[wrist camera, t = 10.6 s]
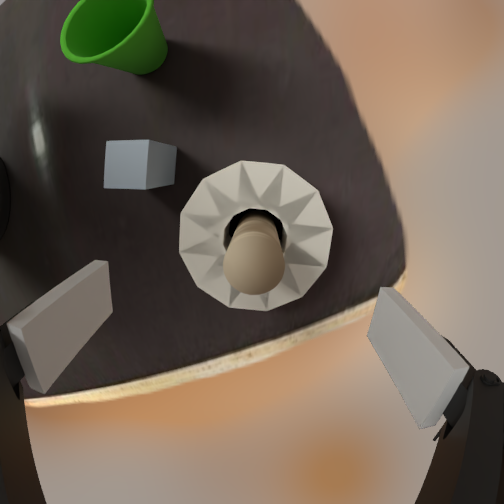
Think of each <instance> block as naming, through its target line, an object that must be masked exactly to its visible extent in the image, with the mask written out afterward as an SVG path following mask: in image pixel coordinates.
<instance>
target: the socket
mask: <svg viewBox="0 0 504 504" xmlns="http://www.w3.org/2000/svg"><path fill="white" fill-rule="evenodd" d="M249 208H252V209H262V210H267V211H269V212H270V213H272V214H273V215H274V216H276V217H277V218H279V219H280V220H281V222H282V224H283V229H282V237H281V240H280V245H281V249H282V253H283V256H284V261H285V271H284V275H283V277H282V279H281V281H280V282H279V284H278V285H277V286H276V287H275V288H274V289H272V290H271V291H269V292H267V293H264V294H260V295H249V294H244V293H242V292H240V291H238V290H236V289H235V288H233V287H232V286H231V285H230V283H229V282H228V281H227V279H226V277H225V274H224V270H223V260H224V256H225V254H226V251H227V249H228V247H229V244H230V242H231V240H232V238H231V236H230V234H229V228H230V220H231V219H232V217H233V216H234V215H236V214H238V213H240V212H242V211H244V210H247V209H249ZM332 232H333V227H332V224H331V222H330V219H329V216H328V214H327V211H326V209H325V206H324V204H323V201H322V199H321V196H320V194H319V192H318V190H317V189H316V188H314V187H313V186H312V185H310V184H309V183H308V182H306V181H305V180H304V179H302V178H301V177H300V176H298V175H297V174H296V173H294V172H293V171H292V170H290V169H289V168H288V167H286V166H285V165H280V164H271V163H261V162H251V161H239V162H237V163H235V164H233V165H231V166H229V167H227V168H224V169H222V170H220V171H218V172H216V173H214V174H212V175H210V176H208V177H206V178H204V179H203V180H202V181H201V183H200V184H199V186H198V187H197V189H196V190H195V192H194V193H193V195H192V196H191V198H190V199H189V201H188V202H187V204H186V205H185V207H184V209H183V210H182V212H181V215H180V239H179V253H180V255H181V257H182V259H183V261H184V263H185V265H186V267H187V268H188V270H189V272H190V274H191V276H192V278H193V280H194V282H195V283H196V285H197V287H199V288H200V289H202V290H203V291H205V292H206V293H208V294H209V295H211V296H212V297H214V298H215V299H217V300H218V301H220V302H221V303H223V304H225V305H226V306H228V307H230V308H239V309H249V310H260V311H269V310H271V309H274V308H276V307H279V306H281V305H284V304H286V303H289V302H291V301H293V300H296V299H298V298H301V297H303V295H304V294H305V293H306V292H307V291H308V289H309V288H310V287H311V286H312V285H313V283H314V282H315V281H316V280H317V279H318V277H319V276H320V275H321V274H322V272H323V271H324V270H325V269H326V267H327V263H328V257H329V251H330V245H331V239H332Z"/></svg>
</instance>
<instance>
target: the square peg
mask: <svg viewBox="0 0 504 504" xmlns="http://www.w3.org/2000/svg"><path fill="white" fill-rule="evenodd" d="M176 153H177V147H176V146H172V145H168V144H164V143H160V142H156V141H152V140H120V141H107V142H106V154H105V170H104V188H117V189H145V190H146V189H151V188H156V187H162V186H167V185H173V184H174V179H175V165H176Z"/></svg>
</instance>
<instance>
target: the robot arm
mask: <svg viewBox="0 0 504 504" xmlns="http://www.w3.org/2000/svg"><path fill="white" fill-rule="evenodd" d="M9 210H10V190H9V182H8V177H7V173H6V170H5V167H4V165H3V162H2V161H1V159H0V239H1V237H2V236H3V234H4V232H5V229H6V227H7V223H8V218H9ZM112 312H113V309H112V300H111V291H110V280H109V266H108V261H101V260H94V261H93V262H91V263H90V264H88V265H87V266H85V267H84V268H82V269H81V270H79V271H78V272H76V273H75V274H73V275H72V276H70V277H69V278H67V279H66V280H64V281H63V282H62V283H60V284H59V285H57V286H56V287H54V288H53V289H52V290H50V291H49V292H47V293H46V294H45V295H43V296H42V297H40V298H39V299H38V300H36V301H34V302H32V303H30V304H29V305H28V306H26V307H25V309H22V310H21V311H20V312H19V313H17V314H16V315H14V316H13V317H12V318H10V319H9V320H8V321H7V322H5V323H4V324H3V325H1V326H0V504H46V501H45V498H44V495H43V491H42V489H41V485H40V481H39V478H38V474H37V470H36V466H35V463H34V458H33V454H32V449H31V444H30V439H29V433H28V427H27V420H26V413H25V405H24V395H23V387H22V384H21V382H20V380H21V379H22V378H23V377H24V375H25V377H26V380H27V382H28V384H29V387H30V388H32V389H34V390H36V391H39V392H41V393H43V394H45V393H46V391H47V390H48V389H49V388H50V386H51V385H52V384H53V382H54V381H55V380H56V379H57V377H58V376H59V375H60V374H61V372H62V371H63V370H64V369H65V368H66V366H67V365H68V364H69V363H70V361H71V360H72V359H73V358H74V357H75V355H76V354H77V353H78V352H79V351H80V349H81V348H82V347H83V346H84V345H85V343H86V342H87V341H88V340H89V339H90V338H91V336H92V335H93V334H94V333H95V332H96V331H97V329H98V328H99V327H100V326H101V325H102V324H103V323H104V321H105V320H106V319H107V318H108V317H109V316H110V315H111V314H112ZM367 337H368V338H369V340H370V342H371V344H372V345H373V347H374V348H375V350H376V352H377V354H378V355H379V357H380V359H381V361H382V362H383V364H384V366H385V368H386V369H387V371H388V373H389V375H390V376H391V378H392V380H393V382H394V383H395V385H396V387H397V389H398V390H399V392H400V394H401V396H402V398H403V400H404V401H405V403H406V405H407V407H408V409H409V410H410V412H411V414H412V416H413V418H414V420H415V422H416V423H417V426H418V427H419V429H422V428H427V427H431V426H435V425H436V423H437V422H438V420H439V419H440V417H441V416H442V414H444V416H445V418H446V419H447V420H446V422H445V423H444V425H443V426H442V428H441V429H440V430H439V432H438V433H437V435H436V436H435V437H434V439H433V440H434V441H436V439H437V438H438V437H439V440H438V443H437V447H436V450H435V453H434V456H433V459H432V462H431V465H430V467H429V470H428V473H427V475H426V478H425V481H424V483H423V486H422V488H421V491H420V493H419V495H418V498H417V500H416V502H415V504H504V383H502V382H501V380H500V378H499V377H498V376H497V375H496V374H494V373H493V372H490V371H489V370H484V369H482V370H477V371H476V369H474V367H473V366H472V365H471V364H470V363H469V362H468V361H467V360H466V359H465V357H464V356H463V355H462V354H460V352H459V351H458V350H457V349H456V348H455V347H454V346H453V344H452V343H451V342H450V341H449V340H448V339H446V338H444V337H443V336H441V335H440V334H439V333H438V332H437V331H436V330H435V329H434V328H433V327H432V326H431V324H430V323H429V322H428V321H427V320H426V319H424V317H423V316H422V315H421V314H420V313H419V312H418V311H417V310H416V309H415V308H414V307H413V306H412V305H411V304H410V303H409V302H408V301H407V300H406V299H405V298H404V297H403V296H402V295H401V294H400V293H399V292H397V291H396V290H395V289H394V288H388V287H380V291H379V295H378V299H377V303H376V306H375V310H374V313H373V317H372V320H371V324H370V327H369V331H368V334H367Z"/></svg>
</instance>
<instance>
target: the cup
mask: <svg viewBox="0 0 504 504" xmlns="http://www.w3.org/2000/svg"><path fill="white" fill-rule="evenodd" d="M153 5H154V0H80V1H79V2H78V3H77V5H76V6H75V7H74V8H73V10H72V11H71V12H70V14H69V15H68V17H67V19H66V21H65V23H64V25H63V28H62V31H61V38H60V43H61V49H62V52H63V53H64V55H65V57H66V58H68V59H69V60H70V61H72V62H75V63H79V64H84V63H96V64H100V65H104V66H108V67H112V68H115V69H119V70H123V71H126V72H130V73H133V74H136V75H142V74H147V73H150V72H153V71H154V70H156V69H157V68H158V67H160V66H161V65H162V63H163V62H164V60H165V58H166V56H167V52H168V46H167V43H166V40H165V37H164V35H163V32H162V29H161V26H160V23H159V20H158V18H157V15H156V12H155V9H154V6H153Z"/></svg>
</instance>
